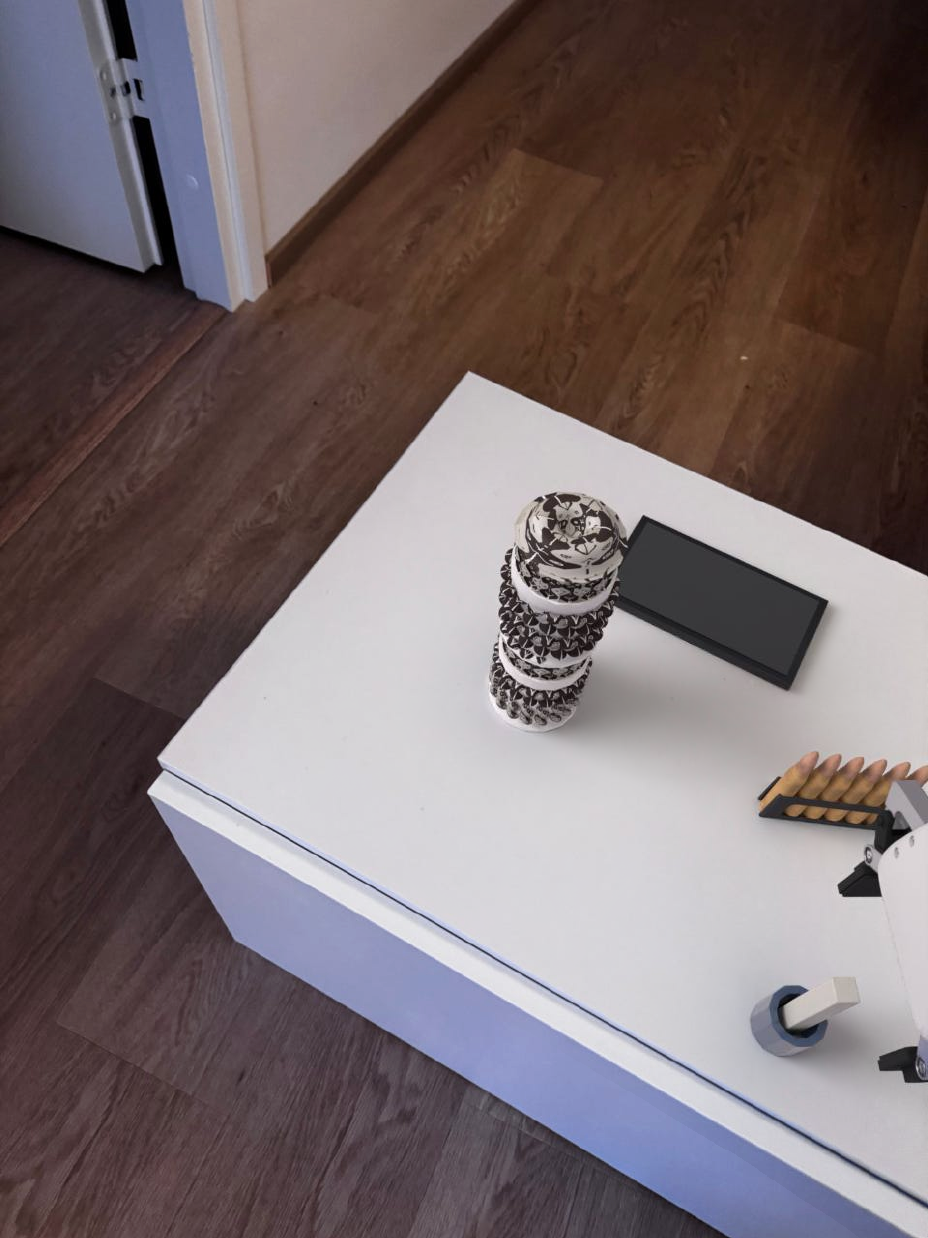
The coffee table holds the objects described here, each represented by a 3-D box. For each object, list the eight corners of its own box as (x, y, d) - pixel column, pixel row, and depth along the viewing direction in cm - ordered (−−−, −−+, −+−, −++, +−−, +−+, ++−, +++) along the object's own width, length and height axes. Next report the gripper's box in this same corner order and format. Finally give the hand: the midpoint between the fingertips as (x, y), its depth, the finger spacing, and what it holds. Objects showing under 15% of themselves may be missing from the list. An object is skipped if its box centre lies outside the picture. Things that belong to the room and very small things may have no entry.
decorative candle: (474, 724, 87) (496, 562, 66) (495, 638, 92) (521, 461, 71) (575, 747, 86) (629, 590, 65) (590, 659, 91) (646, 486, 70)
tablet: (825, 606, 96) (829, 600, 95) (787, 691, 90) (791, 685, 89) (640, 520, 100) (643, 513, 99) (594, 596, 95) (596, 589, 94)
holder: (797, 998, 76) (820, 984, 71) (808, 1057, 73) (833, 1046, 69) (744, 999, 75) (764, 985, 71) (754, 1057, 73) (775, 1047, 69)
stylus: (786, 1015, 74) (855, 976, 63) (790, 1037, 74) (861, 1002, 62) (765, 1015, 74) (831, 977, 63) (769, 1038, 74) (836, 1003, 62)
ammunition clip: (757, 818, 83) (805, 762, 73) (755, 798, 84) (803, 740, 74) (881, 833, 83) (947, 779, 73) (878, 813, 84) (943, 756, 74)
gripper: (1217, 1107, 38) (990, 1141, 52) (1061, 707, 47) (905, 831, 61) (1030, 1110, 37) (853, 1144, 52) (910, 706, 46) (789, 831, 61)
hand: (882, 974), depth 56 cm, fingers open, 9 cm apart
